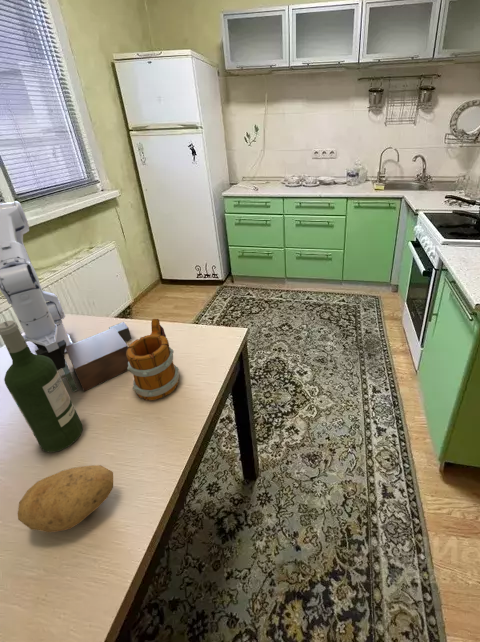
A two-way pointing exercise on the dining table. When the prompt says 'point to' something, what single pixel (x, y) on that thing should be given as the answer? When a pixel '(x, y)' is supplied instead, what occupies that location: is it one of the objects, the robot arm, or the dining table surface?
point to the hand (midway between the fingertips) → (55, 361)
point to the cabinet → (98, 358)
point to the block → (122, 331)
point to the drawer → (69, 377)
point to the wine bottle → (39, 393)
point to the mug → (152, 364)
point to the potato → (65, 498)
